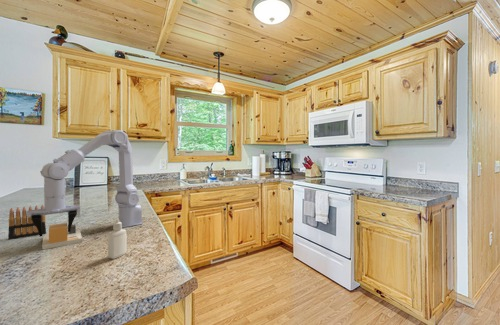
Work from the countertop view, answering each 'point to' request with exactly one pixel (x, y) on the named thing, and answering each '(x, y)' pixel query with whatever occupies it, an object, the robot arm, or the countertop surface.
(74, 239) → the panel
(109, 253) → the eye dropper bottle
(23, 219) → the ammunition clip
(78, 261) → the countertop surface
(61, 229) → the cap
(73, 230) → the block
